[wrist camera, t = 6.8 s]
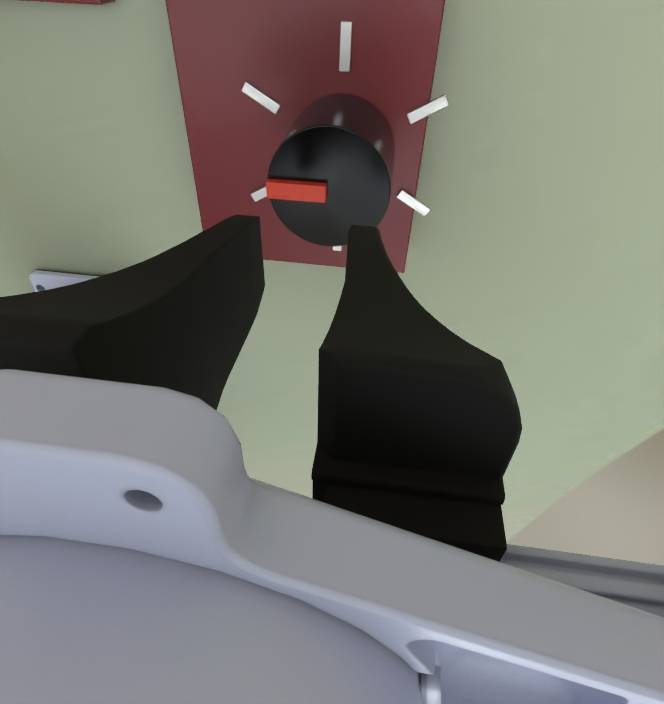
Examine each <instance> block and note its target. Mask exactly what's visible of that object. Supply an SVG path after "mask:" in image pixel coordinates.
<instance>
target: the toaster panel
mask: <svg viewBox="0 0 664 704" xmlns="http://www.w3.org/2000/svg"><path fill="white" fill-rule="evenodd" d="M444 5H445V0H166V6H167V12H168V18H169V24H170V30H171V36H172V43H173V49H174V55H175V61H176V67H177V74H178V80H179V86H180V92H181V98H182V104H183V111H184V117H185V123H186V129H187V135H188V142H189V148H190V154H191V160H192V166H193V172H194V179H195V185H196V191H197V197H198V203H199V210H200V216H201V222H202V228H203V231H205V230H207V229H208V228H210V227H212V226H214V225H215V224H217V223H219V222H221V221H223V220H225V219H227V218H229V217H231V216H233V215H236V214H237V215H249V216H260V226H261V240H262V253H263V259H265V260H276V261H286V262H296V263H307V264H317V265H328V266H338V267H346V258H347V245H344V246H335V247H332V246H321V245H317V244H313V243H310V242H308V241H305V240H304V239H302V238H300V237H298V236H297V235H295V234H294V233H292V232H291V231H290V230H289V229H288V228H287V227H286V226H285V225H284V224H283V223H282V222H281V220H280V219H279V217H278V216H277V214H276V212H275V211H274V209H273V206H272V204H271V201H270V199H269V198H267V193H266V181H267V177H268V170H269V166H270V162H271V160H272V158H273V155H274V154H275V152H276V150H277V149H278V147H279V146H280V144H281V142H282V141H283V139H284V138H285V136H286V135H287V133H288V132H289V130H290V128H291V127H292V125H293V124H294V122H295V121H296V119H297V118H298V116H299V115H300V113H301V112H302V111H303V110H304V109H305V108H306V107H307V106H308V105H310V104H311V103H312V102H314V101H316V100H318V99H320V98H322V97H325V96H328V95H335V94H345V95H352V96H355V97H358V98H361V99H363V100H365V101H367V102H368V103H370V104H371V105H373V106H374V107H375V108H376V109H377V110H378V111H379V112H380V113H381V114H382V115H383V117H384V118H385V120H386V121H387V123H388V125H389V127H390V129H391V132H392V135H393V139H394V146H395V157H394V167H393V177H392V187H391V196H390V202H389V206H388V209H387V211H386V214H385V216H384V218H383V219H382V221H381V222H380V224H379V225H378V226H377V228H378V229H379V231H380V234H381V239H382V242H383V245H384V247H385V250H386V252H387V255H388V257H389V259H390V261H391V263H392V264H393V266H394V268H395V270H396V272H400V273H404V271H405V264H406V257H407V251H408V244H409V237H410V231H411V224H412V217H413V211H414V210H416V211H417V212H419V213H420V214H422V215H423V216H425V215H426V214H427V213H428V212H429V211H430V208H429V207H428V206H427V205H425V204H424V203H422V202H421V201H419V200H418V199H416V198H415V197H416V191H417V184H418V177H419V171H420V164H421V158H422V151H423V144H424V138H425V131H426V124H427V118H428V115H430V114H432V113H434V112H436V111H438V110H440V109H442V108H444V107H446V106H448V105H449V104H448V101H447V98H446V95H445V94H443V95H442V96H440V97H438V98H436V99H434V100H432V101H430V98H431V91H432V84H433V78H434V71H435V64H436V58H437V51H438V45H439V38H440V31H441V25H442V18H443V11H444Z"/></svg>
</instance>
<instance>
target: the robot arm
mask: <svg viewBox="0 0 664 704" xmlns="http://www.w3.org/2000/svg"><path fill="white" fill-rule="evenodd" d="M29 279H30V281H31V284H32V286H33V288H34V290H35V292H33V293H27V294H21V295H14V296H6V297H0V704H664V566H662V565H654V564H647V563H640V562H632V561H625V560H618V559H611V558H604V557H596V556H590V555H582V554H575V553H568V552H561V551H553V550H546V549H539V548H532V547H525V546H517V545H510V544H506V538H505V531H504V524H503V517H502V510H501V505H503V502H504V500H505V491H504V485H503V475H504V473H505V471H506V469H507V467H508V465H509V462H510V460H511V458H512V456H513V454H514V451H515V449H516V447H517V445H518V443H519V439H520V435H521V431H522V424H521V417H520V411H519V407H518V403H517V399H516V396H515V393H514V391H513V388H512V386H511V383H510V381H509V378H508V376H507V373H506V371H505V369H504V366H503V364H502V362H501V361H500V360H499V359H497V358H495V357H493V356H491V355H489V354H488V353H486V352H484V351H482V350H480V349H478V348H477V347H475V346H473V345H471V344H469V343H468V342H466V341H465V340H463V339H462V338H460V337H459V336H457V335H456V334H454V333H453V332H451V331H450V330H449V329H447V328H446V327H445V326H444V325H442V324H441V323H440V322H439V321H437V320H436V319H435V318H434V317H433V316H432V315H431V314H430V313H428V312H427V311H426V310H425V309H424V308H423V307H422V306H421V305H420V304H419V303H418V301H417V300H416V299H415V298H414V297H413V295H412V294H411V293H410V292H409V290H408V289H407V287H406V286H405V284H404V283H403V281H402V280H401V278H400V277H399V275H398V274H397V272H396V270H395V268H394V266H393V264H392V263H391V261H390V259H389V257H388V255H387V252H386V250H385V247H384V245H383V242H382V239H381V234H380V231H379V229H378V228H377V227H372V226H361V225H351V227H350V229H349V232H348V240H347V258H346V276H345V283H344V287H343V291H342V294H341V298H340V301H339V304H338V307H337V310H336V313H335V316H334V319H333V321H332V324H331V326H330V329H329V331H328V333H327V335H326V337H325V339H324V341H323V344H322V345H321V347H320V349H319V385H318V442H317V448H316V453H315V458H314V463H313V468H312V480H313V499H312V498H309V497H306V496H303V495H300V494H297V493H294V492H291V491H288V490H285V489H282V488H279V487H276V486H273V485H270V484H267V483H264V482H262V481H259V480H256V479H253V478H249V477H248V476H247V473H246V471H245V468H244V463H243V456H242V450H241V444H240V442H239V440H238V438H237V436H236V434H235V433H234V431H233V429H232V427H231V425H230V423H229V422H228V420H227V419H226V418H225V417H224V416H223V415H222V414H220V413H219V412H218V411H216V410H217V407H218V404H219V401H220V398H221V394H222V391H223V389H224V386H225V384H226V381H227V379H228V377H229V374H230V372H231V370H232V368H233V366H234V364H235V361H236V359H237V357H238V355H239V353H240V351H241V349H242V346H243V344H244V342H245V340H246V338H247V336H248V333H249V331H250V329H251V327H252V324H253V322H254V320H255V318H256V315H257V312H258V309H259V305H260V302H261V298H262V294H263V291H264V287H265V280H264V267H263V253H262V240H261V226H260V216H249V215H237V214H236V215H233V216H231V217H229V218H227V219H225V220H223V221H221V222H219V223H217V224H215V225H214V226H212V227H210V228H208V229H207V230H205V231H203V232H201V233H199V234H198V235H196V236H194V237H192V238H190V239H189V240H187V241H185V242H183V243H181V244H179V245H177V246H175V247H173V248H171V249H169V250H167V251H165V252H163V253H161V254H159V255H157V256H155V257H152V258H150V259H148V260H146V261H143V262H141V263H138V264H136V265H133V266H130V267H128V268H125V269H122V270H120V271H117V272H114V273H111V274H107V275H104V276H100V277H99V276H89V275H79V274H70V273H60V272H50V271H40V270H35V271H34V272H32V273H31V274H30V276H29ZM41 285H42V286H43V287H42V286H41Z"/></svg>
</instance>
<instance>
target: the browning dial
mask: <svg viewBox="0 0 664 704" xmlns="http://www.w3.org/2000/svg"><path fill="white" fill-rule="evenodd" d="M394 157H395V146H394V139H393V135H392V132H391V129H390V127H389V125H388V123H387V121H386V120H385V118H384V117H383V115H382V114H381V113H380V112H379V111H378V110H377V109H376V108H375V107H374V106H373V105H371V104H370V103H368V102H367V101H365V100H363V99H361V98H358V97H355V96H352V95H345V94H335V95H328V96H325V97H322V98H320V99H318V100H316V101H314V102H312V103H311V104H310V105H308V106H307V107H306V108H305V109H304V110H303V111H302V112H301V113H300V115H299V116H298V118H297V119H296V121H295V122H294V124H293V125H292V127H291V128H290V130H289V132H288V133H287V135H286V136H285V138H284V139H283V141H282V142H281V144H280V146H279V147H278V149H277V150H276V152H275V154H274V155H273V158H272V160H271V162H270V166H269V170H268V177H267V181H266V193H267V198H269V199H270V201H271V204H272V206H273V209H274V211H275V212H276V214H277V216H278V217H279V219H280V220H281V222H282V223H283V224H284V225H285V226H286V227H287V228H288V229H289V230H290V231H291V232H292V233H294V234H295V235H297V236H298V237H300V238H302V239H304V240H305V241H308V242H310V243H313V244H317V245H321V246H332V247H335V246H344V245H347V240H348V232H349V229H350V227H351V225H361V226H372V227H377V226H378V225H379V224H380V222H381V221H382V219H383V218H384V216H385V214H386V211H387V209H388V206H389V202H390V196H391V187H392V177H393V167H394Z"/></svg>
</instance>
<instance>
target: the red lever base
mask: <svg viewBox="0 0 664 704" xmlns="http://www.w3.org/2000/svg"><path fill="white" fill-rule="evenodd" d="M21 1H39V2H58V3H76V4H94V5H102V4H106V3H111V2H115V1H116V0H21Z"/></svg>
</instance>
